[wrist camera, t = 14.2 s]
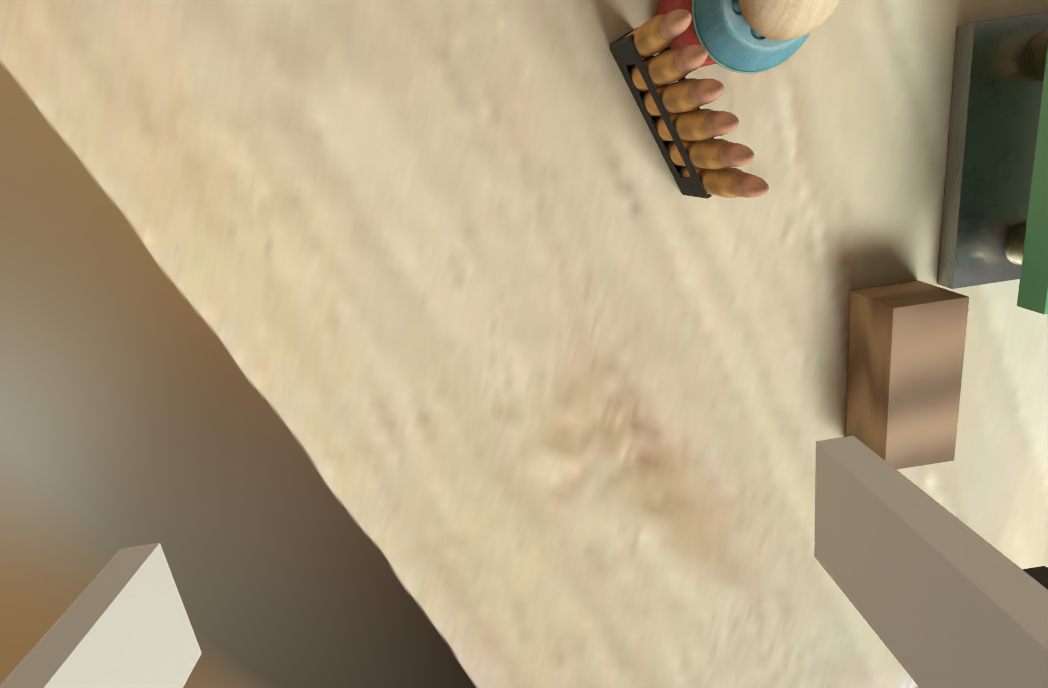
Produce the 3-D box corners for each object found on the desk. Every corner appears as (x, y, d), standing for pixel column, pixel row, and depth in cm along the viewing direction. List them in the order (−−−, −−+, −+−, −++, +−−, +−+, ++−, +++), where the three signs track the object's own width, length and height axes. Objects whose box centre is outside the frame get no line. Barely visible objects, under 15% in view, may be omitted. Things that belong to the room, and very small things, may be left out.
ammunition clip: (608, 45, 39) (660, 6, 28) (634, 29, 39) (697, -18, 27) (683, 195, 42) (757, 215, 31) (707, 180, 42) (791, 195, 31)
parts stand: (850, 290, 45) (893, 308, 40) (917, 280, 45) (969, 296, 40) (845, 438, 49) (884, 471, 44) (908, 429, 49) (953, 460, 44)
